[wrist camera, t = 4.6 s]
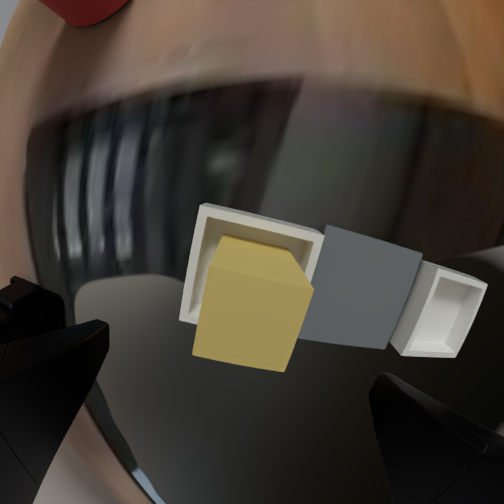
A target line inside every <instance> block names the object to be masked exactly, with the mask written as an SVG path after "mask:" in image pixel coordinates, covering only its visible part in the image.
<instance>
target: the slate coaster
mask: <svg viewBox="0 0 504 504" xmlns="http://www.w3.org/2000/svg"><path fill="white" fill-rule="evenodd" d="M322 234H323V235H325V236H324V240H323V243H322V247H321V250H320V254H319V257H318V260H317V264H316V267H315V270H314V273H313V276H312V280H311V283H310V284H311V285H312V287H313V288H314V291H313V294H312V297H311V300H310V303H309V306H308V309H307V312H306V315H305V318H304V321H303V324H302V326H301V329H300V332H299V335H298V337H297V338H299V339H305V340H312V341H319V342H326V343H333V344H341V345H349V346H358V347H366V348H376V349H385V347H386V345H387V343H388V341H389V339H390V337H391V335H392V332H393V330H394V328H395V326H396V324H397V321H398V319H399V317H400V314H401V312H402V310H403V307H404V305H405V302H406V300H407V297H408V295H409V292H410V289H411V287H412V284H413V281H414V278H415V276H416V273H417V270H418V267H419V264H420V261H421V258H422V255H423V254H422V253H420V252H417V251H414V250H411V249H408V248H405V247H402V246H399V245H396V244H392V243H389V242H386V241H383V240H379V239H376V238H373V237H369V236H366V235H363V234H359V233H356V232H352V231H349V230H345V229H342V228H338V227H335V226H331V225H328V224H324V228H323V231H322Z"/></svg>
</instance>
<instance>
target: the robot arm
mask: <svg viewBox="0 0 504 504" xmlns="http://www.w3.org/2000/svg"><path fill="white" fill-rule="evenodd" d="M56 300H57V301H56ZM109 343H110V341H109V324H108V323H107V322H104V321H101V320H98V319H96V320H92V321H89V322H85V323H81V324H78V325H74V326H71V327H67V328H64V317H63V302H62V298H61V297H60V295H58V294H56V293H53V292H51V291H48V290H46V289H44V288H41V287H40V286H39V285H36V284H34V283H32V282H29V281H27V280H25V279H23V278H19V277H16V276H13V277H12V278H11V279H10V285H8V286H6V287H4V288H3V289H1V290H0V504H33V502H34V499H35V497H36V495H37V493H38V490H39V488H40V486H41V483H42V481H43V479H44V477H45V475H46V473H47V471H48V468H49V466H50V464H51V462H52V460H53V458H54V456H55V454H56V452H57V450H58V448H59V446H60V444H61V442H62V441H63V439H64V437H65V435H66V433H67V431H68V429H69V428H70V426H71V424H72V422H73V420H74V418H75V417H76V415H77V413H78V411H79V409H80V408H81V406H82V404H83V402H84V401H85V399H86V397H87V395H88V394H89V392H90V390H91V388H92V386H93V384H94V382H95V380H96V378H97V375H98V373H99V371H100V368H101V366H102V364H103V361H104V359H105V357H106V355H107V353H108V350H109V346H110V345H109ZM368 397H369V403H370V408H371V414H372V419H373V425H374V430H375V434H376V438H377V442H378V445H379V449H380V453H381V456H382V460H383V464H384V468H385V472H386V476H387V480H388V484H389V489H390V493H391V498H392V502H393V504H504V436H502V435H500V434H497V433H495V432H493V431H491V430H489V429H486V428H484V427H482V426H480V425H478V424H476V423H475V422H473V421H471V420H469V419H467V418H465V417H464V416H461V415H460V414H458V413H456V412H455V411H453V410H451V409H449V408H448V407H446V406H444V405H443V404H441V403H439V402H437V401H435V400H434V399H432V398H430V397H429V396H427V395H425V394H424V393H422V392H420V391H419V390H417V389H415V388H414V387H412V386H410V385H409V384H407V383H405V382H403V381H402V380H400V379H399V378H397V377H395V376H394V375H392V374H389V373H381V374H379V376H378V377H377V379H376V380H375V382H374V384H373V386H372V387H371V389H370V391H369V396H368Z"/></svg>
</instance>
